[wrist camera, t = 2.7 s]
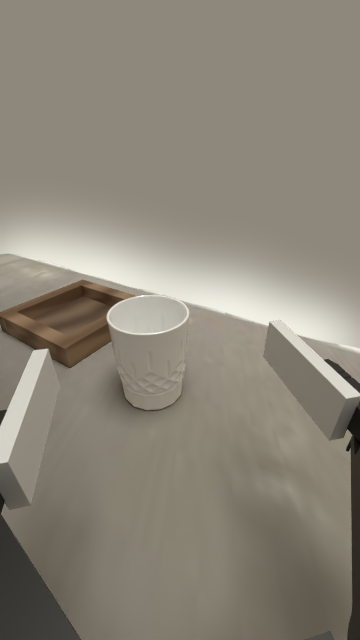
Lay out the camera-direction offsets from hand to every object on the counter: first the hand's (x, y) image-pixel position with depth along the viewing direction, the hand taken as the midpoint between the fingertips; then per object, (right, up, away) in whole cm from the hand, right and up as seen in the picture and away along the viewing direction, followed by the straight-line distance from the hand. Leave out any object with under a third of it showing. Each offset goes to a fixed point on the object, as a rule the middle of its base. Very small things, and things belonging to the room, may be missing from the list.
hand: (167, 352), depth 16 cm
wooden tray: (-16, +1, +27) cm, 32 cm away
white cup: (-2, -6, +15) cm, 16 cm away
